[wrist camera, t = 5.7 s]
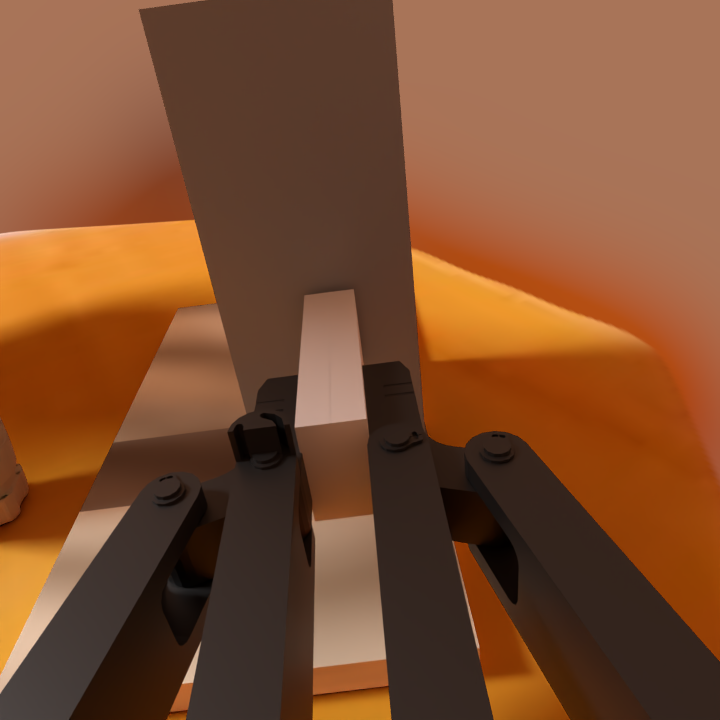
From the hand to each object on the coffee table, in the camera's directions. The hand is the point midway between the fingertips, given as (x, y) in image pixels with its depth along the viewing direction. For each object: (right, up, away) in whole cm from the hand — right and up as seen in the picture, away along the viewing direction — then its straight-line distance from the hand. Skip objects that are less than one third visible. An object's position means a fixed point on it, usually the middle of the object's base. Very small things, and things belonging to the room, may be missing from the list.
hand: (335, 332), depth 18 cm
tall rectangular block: (0, -3, +7) cm, 8 cm away
